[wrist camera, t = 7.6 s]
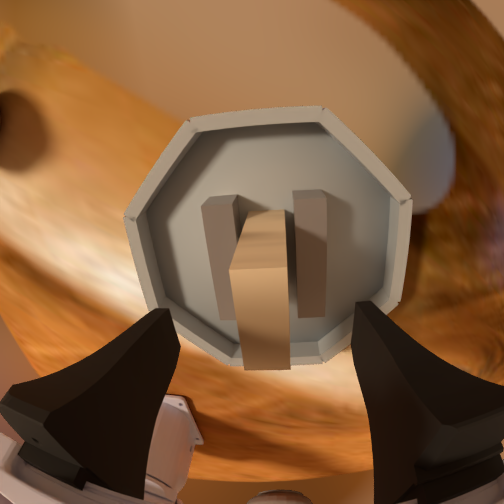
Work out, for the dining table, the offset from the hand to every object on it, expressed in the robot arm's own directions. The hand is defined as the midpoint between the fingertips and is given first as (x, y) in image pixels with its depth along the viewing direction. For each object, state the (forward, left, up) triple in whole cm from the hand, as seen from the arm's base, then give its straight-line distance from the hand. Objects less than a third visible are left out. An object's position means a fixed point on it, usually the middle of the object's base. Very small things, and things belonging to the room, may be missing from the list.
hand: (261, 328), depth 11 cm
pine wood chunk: (0, 0, -7) cm, 7 cm away
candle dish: (0, 0, -8) cm, 8 cm away
